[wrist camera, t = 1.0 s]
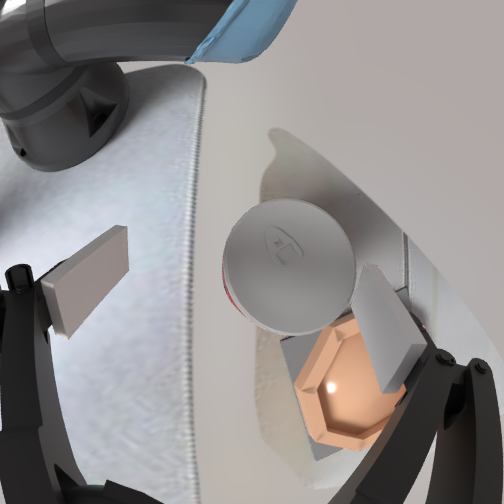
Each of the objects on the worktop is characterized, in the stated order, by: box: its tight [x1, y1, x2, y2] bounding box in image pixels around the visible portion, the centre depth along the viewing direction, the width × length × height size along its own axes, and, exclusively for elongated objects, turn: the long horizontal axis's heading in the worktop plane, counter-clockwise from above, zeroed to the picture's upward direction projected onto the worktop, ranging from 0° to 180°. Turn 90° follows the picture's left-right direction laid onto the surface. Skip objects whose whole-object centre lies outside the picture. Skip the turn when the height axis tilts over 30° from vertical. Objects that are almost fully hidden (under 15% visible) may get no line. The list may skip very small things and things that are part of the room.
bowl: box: [294, 313, 425, 451], centre depth 26 cm, size 16×16×2 cm
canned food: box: [222, 198, 356, 336], centre depth 21 cm, size 8×8×11 cm
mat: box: [280, 288, 411, 461], centre depth 27 cm, size 16×16×1 cm
